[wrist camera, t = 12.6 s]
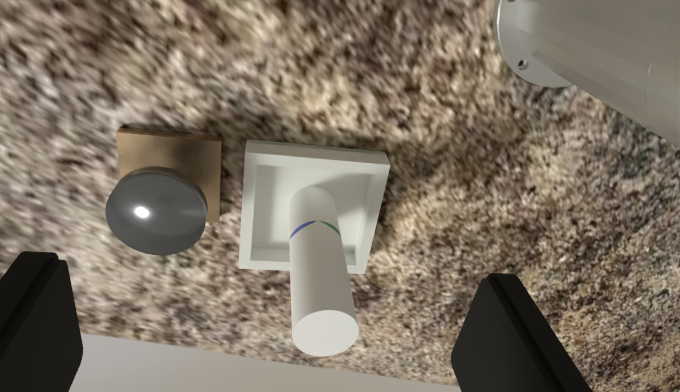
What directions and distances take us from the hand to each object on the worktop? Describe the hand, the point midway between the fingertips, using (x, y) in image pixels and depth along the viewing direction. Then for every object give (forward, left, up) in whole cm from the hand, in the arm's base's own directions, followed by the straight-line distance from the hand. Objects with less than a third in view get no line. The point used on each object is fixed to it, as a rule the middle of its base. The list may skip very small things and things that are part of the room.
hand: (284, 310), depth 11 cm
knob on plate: (+8, +13, -28) cm, 32 cm away
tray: (-4, +15, -28) cm, 32 cm away
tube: (-4, +15, -28) cm, 32 cm away
